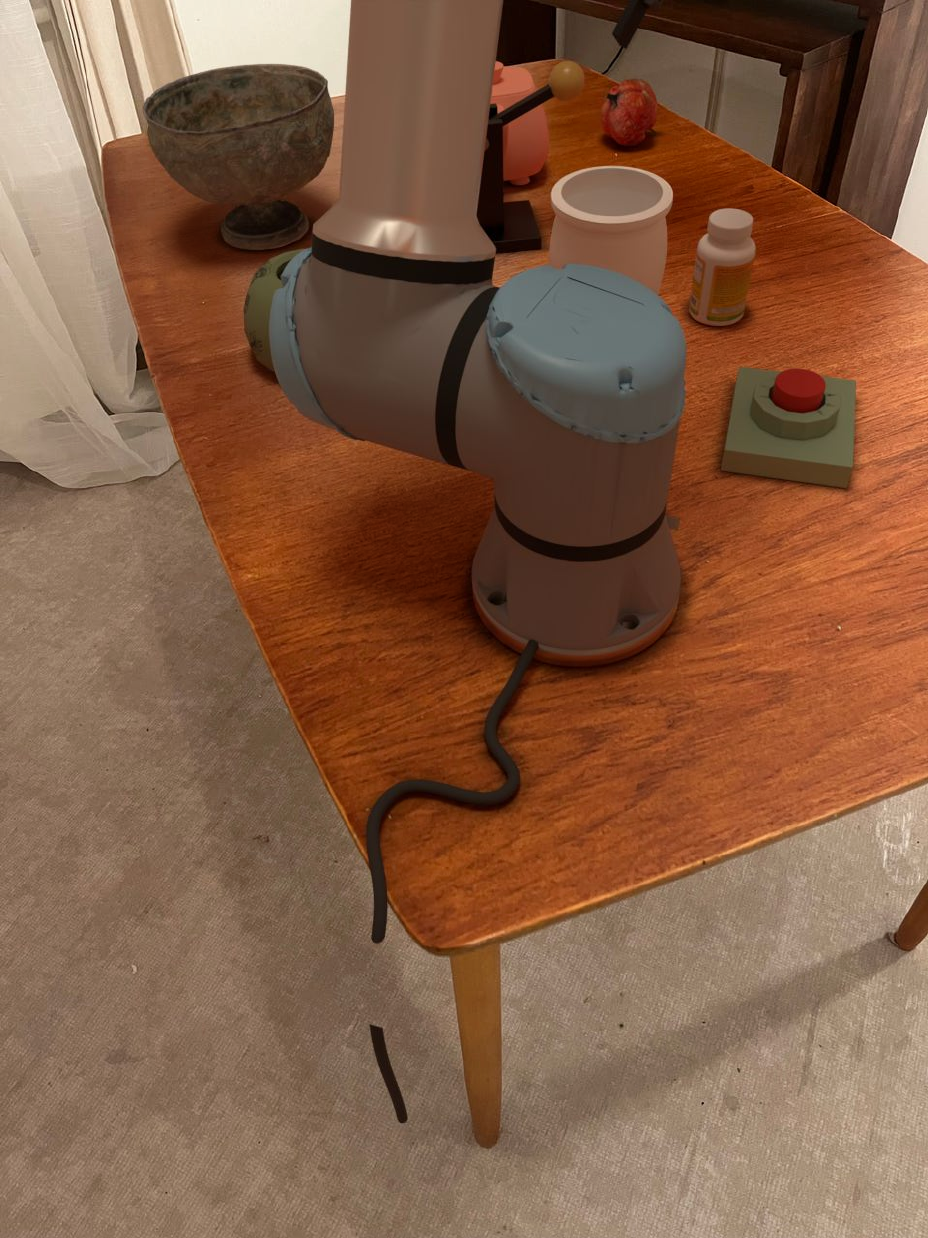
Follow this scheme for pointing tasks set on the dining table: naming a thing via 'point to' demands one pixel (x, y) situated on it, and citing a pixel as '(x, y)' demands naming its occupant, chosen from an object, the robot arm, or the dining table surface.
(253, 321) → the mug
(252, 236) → the bowl
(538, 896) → the dining table surface
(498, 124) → the lock bracket
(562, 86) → the lock lever
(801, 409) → the button
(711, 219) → the supplement bottle
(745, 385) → the button box
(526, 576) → the robot arm
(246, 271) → the dining table surface
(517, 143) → the teapot
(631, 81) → the pomegranate
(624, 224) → the jar
